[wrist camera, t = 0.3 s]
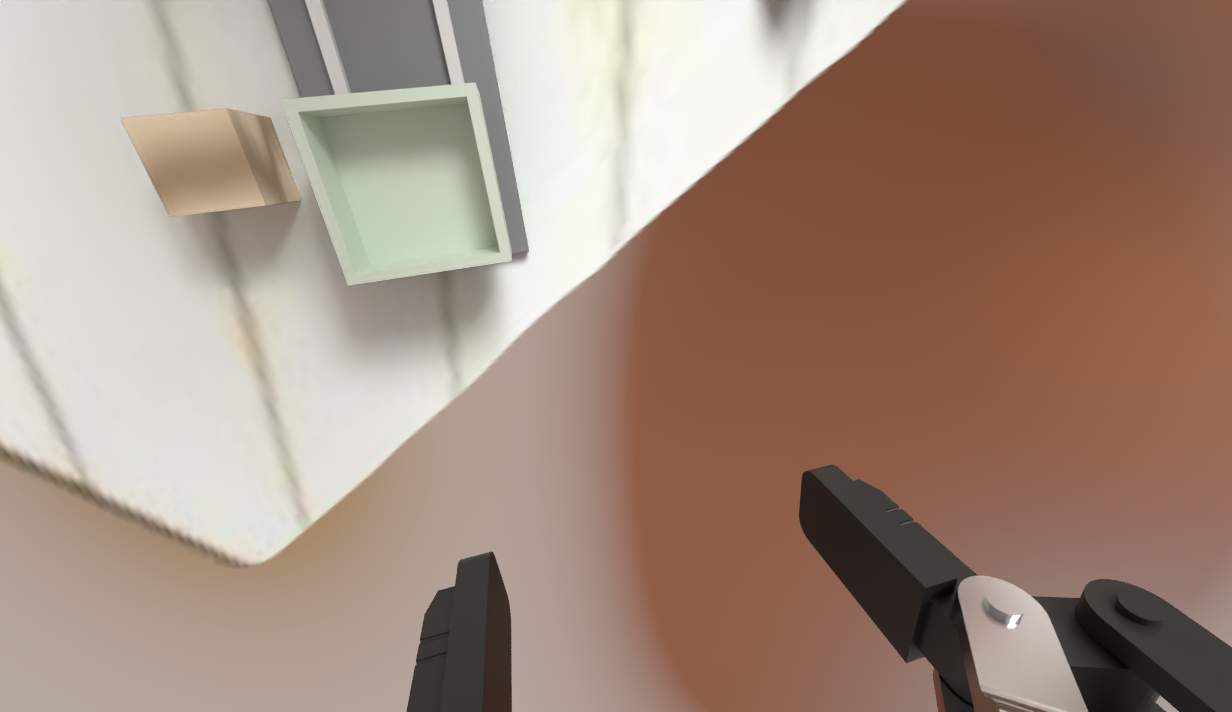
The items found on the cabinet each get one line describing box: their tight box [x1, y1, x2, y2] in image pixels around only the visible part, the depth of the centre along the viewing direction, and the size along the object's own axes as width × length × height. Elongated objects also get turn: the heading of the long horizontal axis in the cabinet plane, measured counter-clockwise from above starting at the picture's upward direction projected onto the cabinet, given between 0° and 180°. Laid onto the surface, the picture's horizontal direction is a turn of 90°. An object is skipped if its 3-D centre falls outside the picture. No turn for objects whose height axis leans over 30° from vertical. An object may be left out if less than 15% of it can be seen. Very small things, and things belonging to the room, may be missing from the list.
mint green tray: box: [280, 83, 512, 286], centre depth 28 cm, size 10×10×6 cm
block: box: [120, 109, 301, 217], centre depth 27 cm, size 5×5×5 cm
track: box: [268, 0, 529, 254], centre depth 29 cm, size 22×12×1 cm, turn 6°
